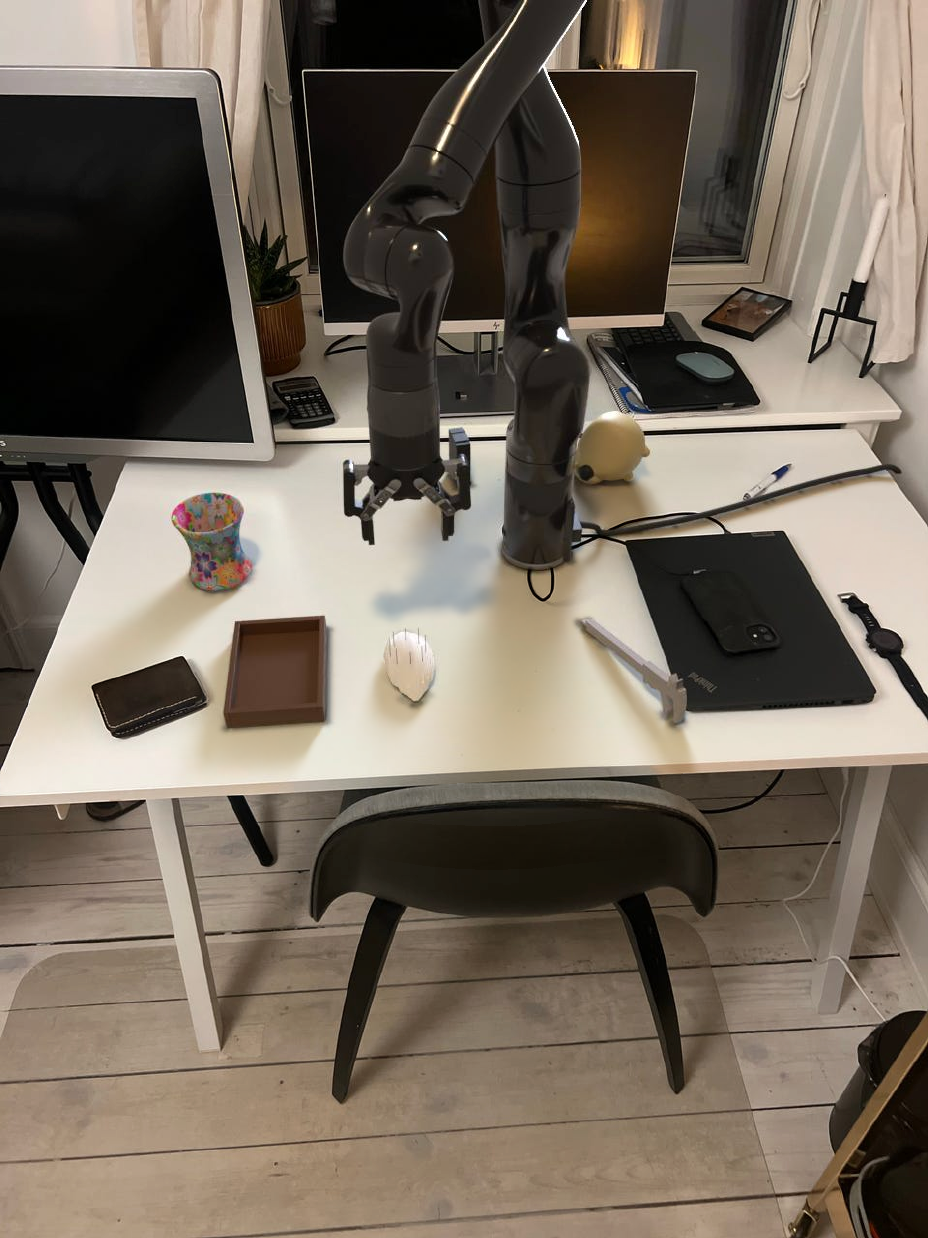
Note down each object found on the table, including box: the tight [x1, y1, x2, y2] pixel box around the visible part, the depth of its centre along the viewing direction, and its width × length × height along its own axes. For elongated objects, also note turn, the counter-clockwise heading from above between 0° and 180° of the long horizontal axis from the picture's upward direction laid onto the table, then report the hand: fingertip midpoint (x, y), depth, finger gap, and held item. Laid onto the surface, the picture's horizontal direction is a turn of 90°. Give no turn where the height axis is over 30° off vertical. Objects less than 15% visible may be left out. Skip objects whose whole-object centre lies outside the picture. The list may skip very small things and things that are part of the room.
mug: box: [171, 492, 252, 591], centre depth 130 cm, size 12×9×11 cm
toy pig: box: [574, 410, 651, 485], centre depth 148 cm, size 10×12×11 cm
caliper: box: [579, 617, 688, 724], centre depth 117 cm, size 20×1×6 cm, turn 28°
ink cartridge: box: [448, 426, 472, 489], centre depth 148 cm, size 5×2×8 cm, turn 14°
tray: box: [222, 615, 328, 729], centre depth 117 cm, size 11×16×3 cm
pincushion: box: [383, 627, 436, 702], centre depth 117 cm, size 12×6×6 cm, turn 10°
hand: (408, 538), depth 112 cm, fingers open, 8 cm apart
